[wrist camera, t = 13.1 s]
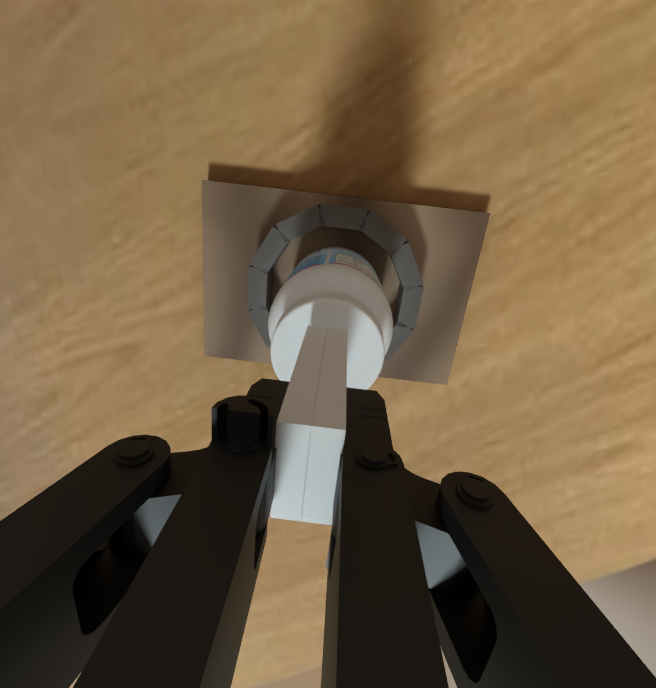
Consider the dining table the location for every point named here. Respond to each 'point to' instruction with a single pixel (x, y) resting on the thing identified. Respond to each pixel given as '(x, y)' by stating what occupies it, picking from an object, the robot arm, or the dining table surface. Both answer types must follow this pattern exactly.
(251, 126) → the dining table surface
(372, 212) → the holder
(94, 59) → the dining table surface
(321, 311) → the pill bottle
